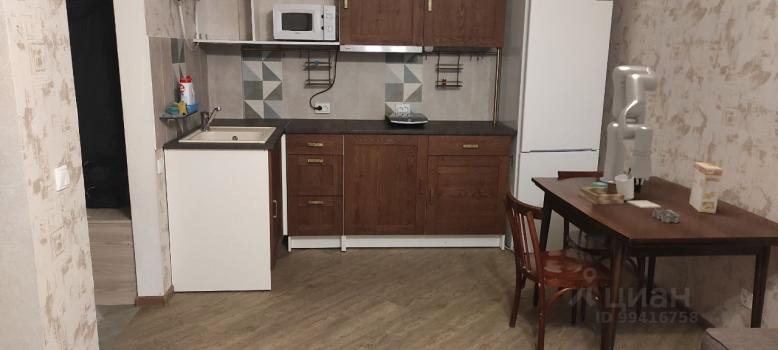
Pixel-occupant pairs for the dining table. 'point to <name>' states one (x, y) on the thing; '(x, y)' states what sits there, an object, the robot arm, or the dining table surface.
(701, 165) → the coffeecake box
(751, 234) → the dining table surface
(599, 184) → the teal block
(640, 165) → the robot arm
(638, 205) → the cream tile
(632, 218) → the dining table surface
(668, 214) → the grey stone ruin model
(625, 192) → the white cup
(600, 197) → the oak bay
